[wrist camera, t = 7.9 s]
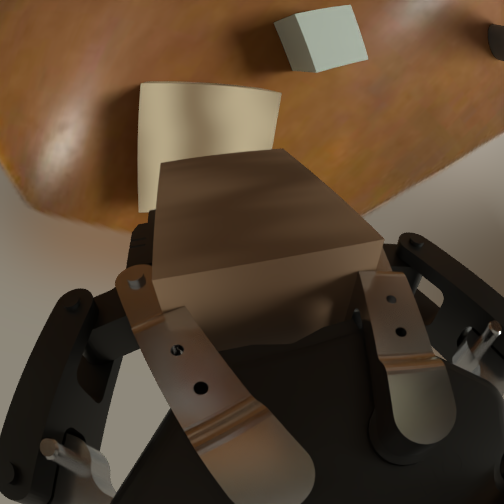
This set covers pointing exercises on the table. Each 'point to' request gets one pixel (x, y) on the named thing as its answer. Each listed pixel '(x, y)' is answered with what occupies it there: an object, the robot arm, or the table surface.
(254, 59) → the table surface
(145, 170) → the oak block
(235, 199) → the walnut block
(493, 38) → the candle holder
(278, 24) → the grey cube
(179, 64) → the table surface
